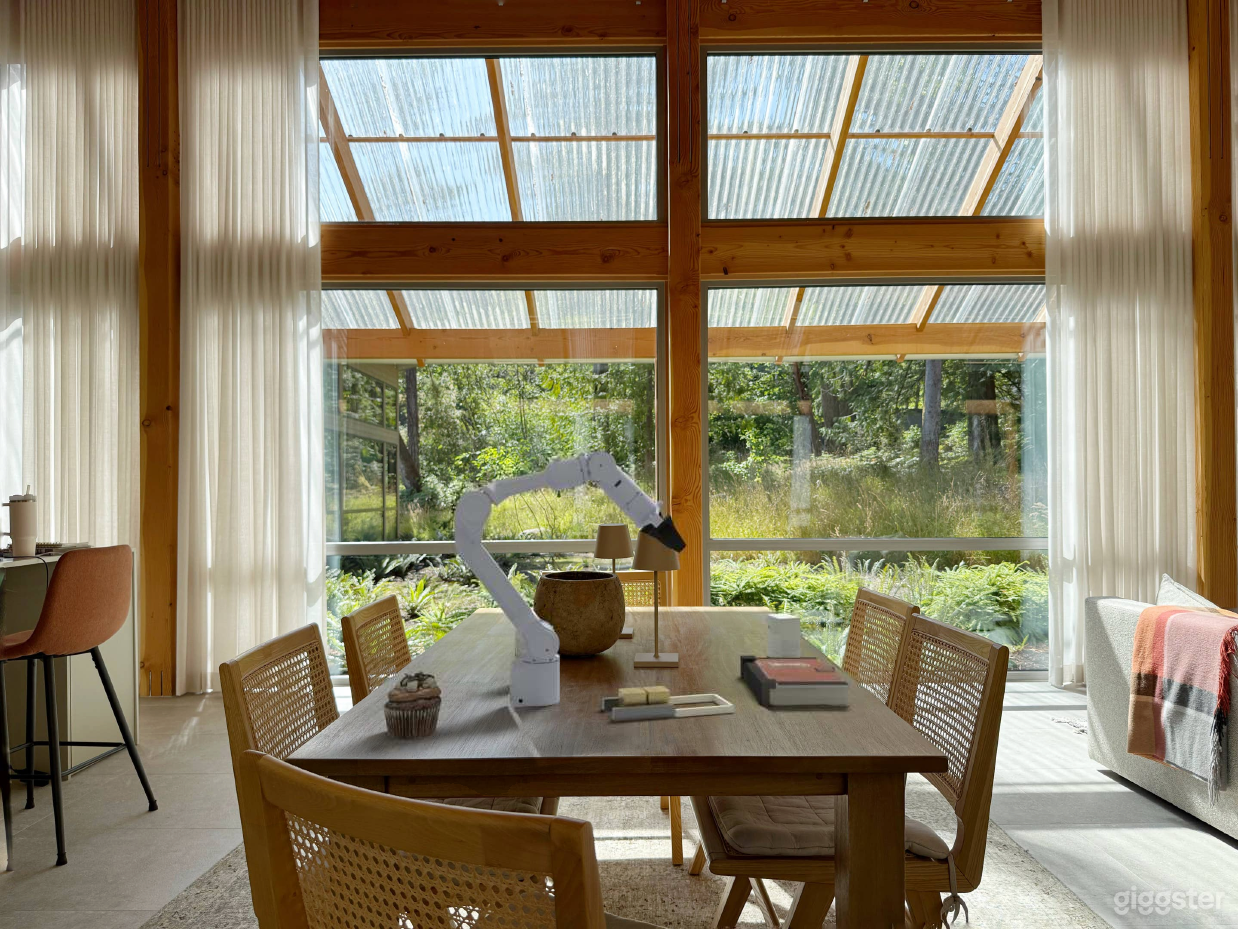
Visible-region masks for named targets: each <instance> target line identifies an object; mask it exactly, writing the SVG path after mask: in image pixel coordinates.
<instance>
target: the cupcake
mask: <svg viewBox="0 0 1238 929" xmlns="http://www.w3.org/2000/svg"><path fill="white" fill-rule="evenodd" d="M437 684H438V683H437V680H436V679H435V676H434V675H432V674H431V673H430V674H429V673H426V674H425V673H423V671H418V672H416V673H414V675H410V674H408V673H404V676H403V677H402V678H401V679H400V680H399V681H397V682H396V685H395V686H394V688H392V689H391V690H390V691H389V692H388V693H387V698H388V701H387V702H386V703H384V704H383V706H382V707H383V712H384V718H385V723H386V729H387V735H388V736H389V738H392V739H397V740H417V739H418V740H419V739H422V738H426V737H428V736H429V737H430V736H432V735H434V734H435V733H436V730H437V726H438V721H439V716H440V711H441V705H442V698H441V695H442V689H441V688H440V687H439V686H438V685H437ZM433 733H434V734H433Z"/></svg>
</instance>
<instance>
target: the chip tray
mask: <svg viewBox="0 0 1238 929" xmlns="http://www.w3.org/2000/svg"><path fill="white" fill-rule="evenodd" d="M709 702H713V703H715V704H717V705H712V706H699V707H698V706H697V707H685V708H674V717H676V718H681V717H695V716H705V715H706V716H708V715H719V714H720V715H721V714H732V713H735V705H734V704H733V703H731V702H729V701H727V699H725V698H723V697H722V696H720V695H718V694H717V693H705V694H702V693H701V694H691V695H677V696H670V703H672V704H673V705H679V704H690V703H691V704H693V703H709Z"/></svg>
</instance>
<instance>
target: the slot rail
mask: <svg viewBox="0 0 1238 929" xmlns="http://www.w3.org/2000/svg"><path fill="white" fill-rule="evenodd" d="M601 700H602V702H601V703H602V710H603V711H604V712H605V713H606V714H607V716H609V718H610V719H612V721H613V722H623V721H635V720H638V721H639V720H648V719H660V718H661V719H662V718H673V717H675V704H672V703H669V704H656V705H642V706H629V707H619V696H611V697H602V699H601Z"/></svg>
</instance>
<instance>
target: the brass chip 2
mask: <svg viewBox="0 0 1238 929" xmlns="http://www.w3.org/2000/svg"><path fill="white" fill-rule="evenodd" d="M641 689H642V690H644V691H645V692H646V705H656V704H669V703H670V697H671V690H670V689H668V688H667V687H666V686H664V685H657V686H656V685H655V686H654V685H653V686H642V687H641Z"/></svg>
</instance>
